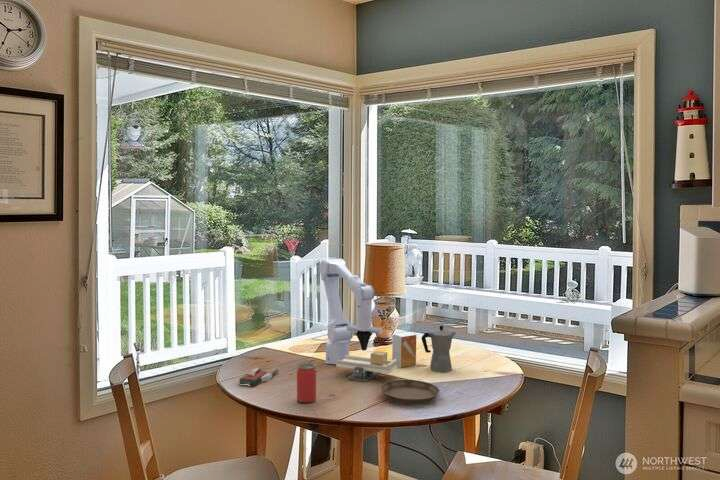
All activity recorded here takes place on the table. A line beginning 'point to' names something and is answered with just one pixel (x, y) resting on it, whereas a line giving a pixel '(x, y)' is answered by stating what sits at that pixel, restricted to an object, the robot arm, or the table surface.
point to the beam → (366, 364)
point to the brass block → (379, 358)
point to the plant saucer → (409, 391)
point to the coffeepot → (439, 349)
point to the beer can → (306, 383)
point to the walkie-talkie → (256, 377)
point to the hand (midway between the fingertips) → (364, 349)
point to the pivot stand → (361, 375)
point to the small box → (404, 349)
